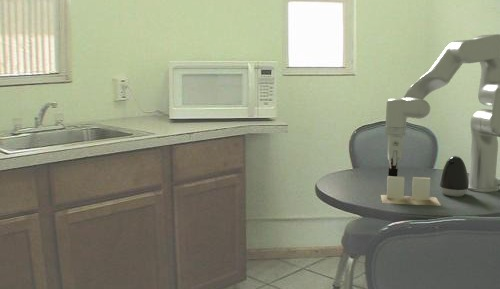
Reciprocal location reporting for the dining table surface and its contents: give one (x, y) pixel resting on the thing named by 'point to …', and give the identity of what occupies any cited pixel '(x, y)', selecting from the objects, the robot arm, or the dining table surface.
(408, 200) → the cork mat
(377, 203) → the dining table surface
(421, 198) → the tile
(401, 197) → the tile
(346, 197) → the dining table surface
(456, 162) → the black rounded dome
